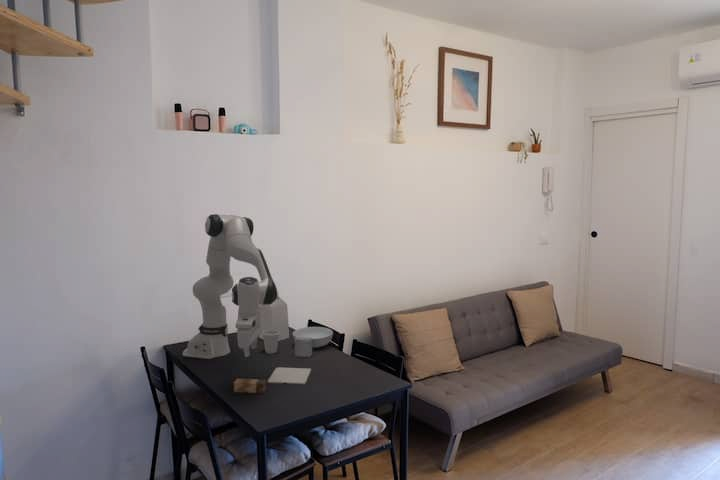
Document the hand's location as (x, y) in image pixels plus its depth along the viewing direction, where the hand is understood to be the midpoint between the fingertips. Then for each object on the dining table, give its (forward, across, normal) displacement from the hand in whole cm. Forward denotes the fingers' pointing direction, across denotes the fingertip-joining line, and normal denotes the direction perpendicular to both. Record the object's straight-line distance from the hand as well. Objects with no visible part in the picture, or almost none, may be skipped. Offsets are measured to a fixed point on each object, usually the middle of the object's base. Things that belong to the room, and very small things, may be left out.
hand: (250, 352), depth 197 cm
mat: (+16, -16, +12) cm, 26 cm away
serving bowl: (+16, -58, +16) cm, 62 cm away
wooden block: (+16, 0, -1) cm, 16 cm away
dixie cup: (+16, -46, -3) cm, 49 cm away
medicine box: (+16, -42, +14) cm, 47 cm away
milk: (+16, -68, -7) cm, 70 cm away
